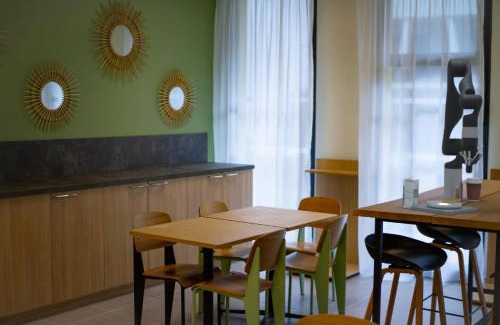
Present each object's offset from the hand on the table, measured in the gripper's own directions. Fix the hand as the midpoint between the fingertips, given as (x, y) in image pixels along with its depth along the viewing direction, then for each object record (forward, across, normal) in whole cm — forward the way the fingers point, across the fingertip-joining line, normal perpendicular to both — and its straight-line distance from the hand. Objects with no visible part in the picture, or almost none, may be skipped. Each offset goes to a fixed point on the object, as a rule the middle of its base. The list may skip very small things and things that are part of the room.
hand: (468, 173), depth 314 cm
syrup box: (+18, +21, +16) cm, 32 cm away
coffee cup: (+18, +21, -36) cm, 45 cm away
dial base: (+18, +6, +10) cm, 21 cm away
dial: (+16, +6, +8) cm, 19 cm away
